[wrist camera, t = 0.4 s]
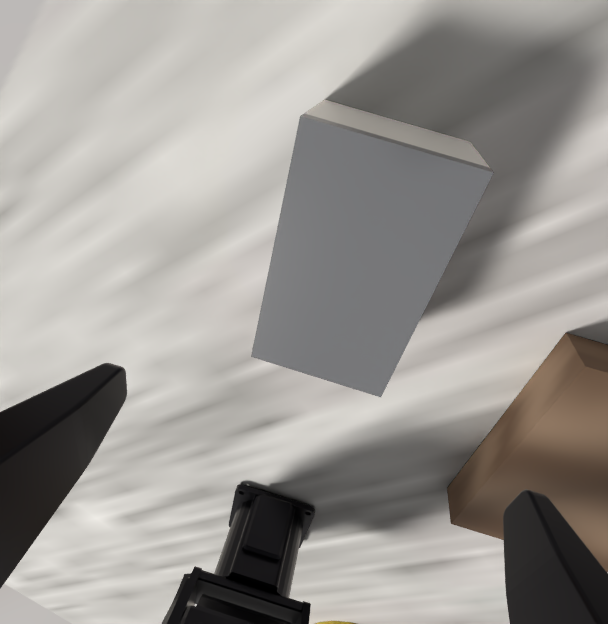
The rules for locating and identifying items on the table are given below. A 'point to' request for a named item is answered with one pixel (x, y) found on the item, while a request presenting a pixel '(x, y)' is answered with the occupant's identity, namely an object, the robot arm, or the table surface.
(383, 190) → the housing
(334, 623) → the handbell
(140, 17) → the table surface
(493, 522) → the walnut stand
